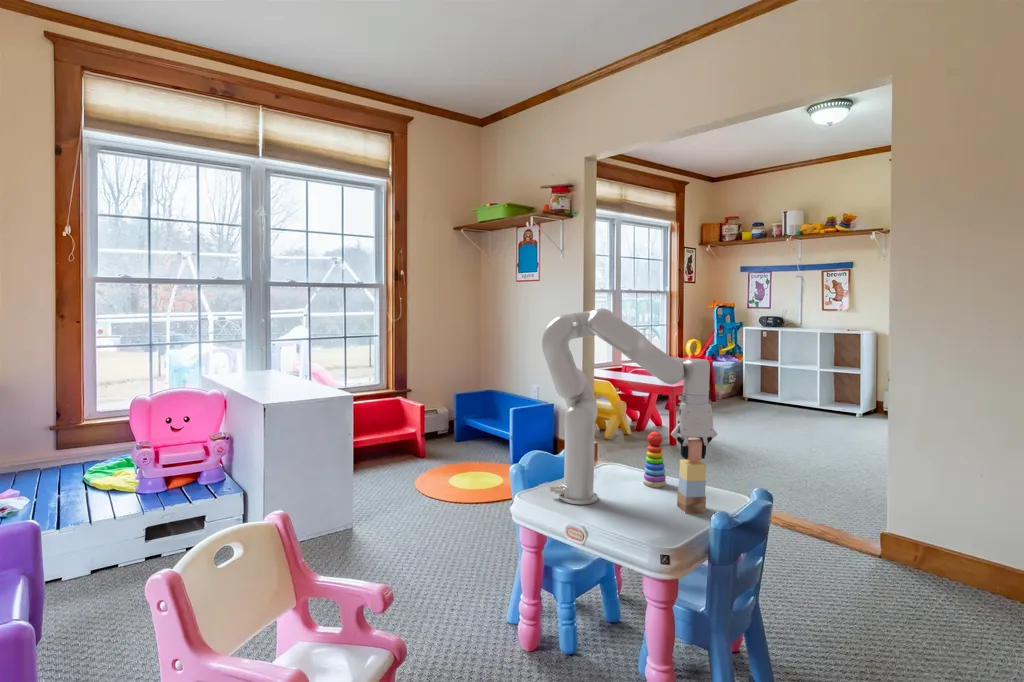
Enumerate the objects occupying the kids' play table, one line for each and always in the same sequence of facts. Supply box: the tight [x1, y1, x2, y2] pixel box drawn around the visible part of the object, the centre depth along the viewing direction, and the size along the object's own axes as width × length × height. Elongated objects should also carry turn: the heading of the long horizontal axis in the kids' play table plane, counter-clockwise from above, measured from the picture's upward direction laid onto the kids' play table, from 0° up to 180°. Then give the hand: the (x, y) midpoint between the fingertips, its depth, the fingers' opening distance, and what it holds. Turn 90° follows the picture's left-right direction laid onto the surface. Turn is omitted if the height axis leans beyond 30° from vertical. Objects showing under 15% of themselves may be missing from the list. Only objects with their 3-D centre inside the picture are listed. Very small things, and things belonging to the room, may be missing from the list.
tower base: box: [676, 490, 707, 514], centre depth 182 cm, size 6×6×5 cm
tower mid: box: [678, 475, 707, 497], centre depth 182 cm, size 6×6×5 cm
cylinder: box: [684, 437, 703, 462], centre depth 181 cm, size 5×5×6 cm
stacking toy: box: [642, 431, 667, 488], centre depth 205 cm, size 8×8×19 cm
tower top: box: [678, 459, 707, 481], centre depth 182 cm, size 6×6×5 cm
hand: (693, 457), depth 181 cm, fingers closed on cylinder, 4 cm apart
